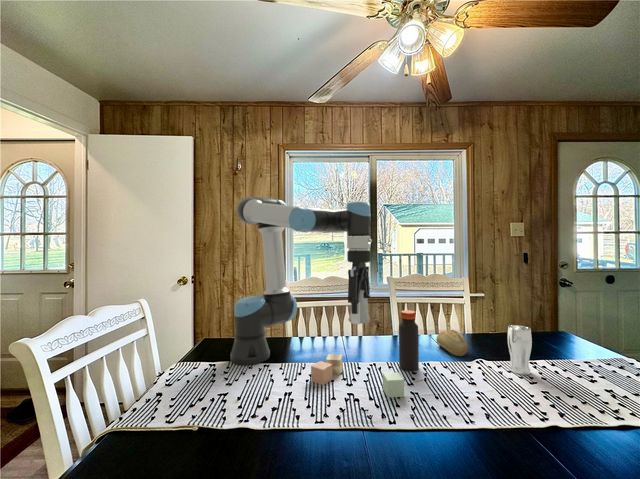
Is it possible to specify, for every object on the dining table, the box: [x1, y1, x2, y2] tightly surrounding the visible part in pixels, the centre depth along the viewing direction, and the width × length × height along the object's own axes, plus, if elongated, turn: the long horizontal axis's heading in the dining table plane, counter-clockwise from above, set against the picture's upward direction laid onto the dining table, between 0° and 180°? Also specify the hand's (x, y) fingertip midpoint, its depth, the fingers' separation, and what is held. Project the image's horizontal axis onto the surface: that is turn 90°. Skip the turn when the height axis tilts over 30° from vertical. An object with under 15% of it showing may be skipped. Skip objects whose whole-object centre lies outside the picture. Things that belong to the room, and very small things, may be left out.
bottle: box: [398, 309, 420, 372], centre depth 108 cm, size 7×7×20 cm
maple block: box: [325, 353, 343, 376], centre depth 106 cm, size 5×5×5 cm
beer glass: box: [507, 324, 533, 376], centre depth 104 cm, size 7×7×15 cm
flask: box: [348, 290, 371, 325], centre depth 97 cm, size 7×7×10 cm
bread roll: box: [436, 329, 469, 357], centre depth 123 cm, size 10×15×8 cm, turn 12°
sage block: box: [382, 371, 405, 398], centre depth 90 cm, size 5×5×5 cm
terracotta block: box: [310, 360, 333, 386], centre depth 99 cm, size 5×5×5 cm
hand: (359, 320), depth 97 cm, fingers closed on flask, 7 cm apart
